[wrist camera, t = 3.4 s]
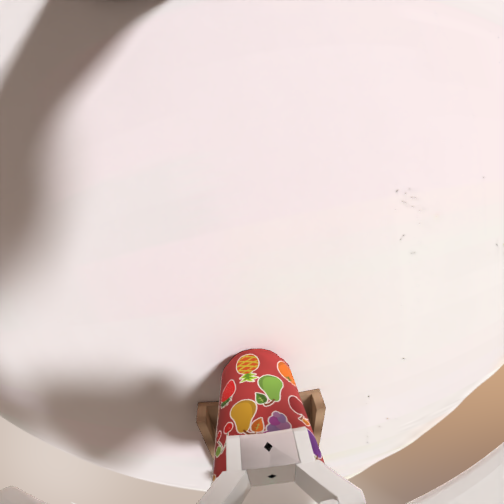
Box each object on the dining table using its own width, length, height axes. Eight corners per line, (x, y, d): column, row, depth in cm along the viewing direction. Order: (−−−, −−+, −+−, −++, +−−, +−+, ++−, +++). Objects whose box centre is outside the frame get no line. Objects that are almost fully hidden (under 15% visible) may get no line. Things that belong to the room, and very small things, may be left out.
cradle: (198, 402, 28) (196, 422, 25) (319, 388, 28) (325, 407, 26) (227, 473, 36) (227, 487, 33) (308, 463, 36) (311, 477, 33)
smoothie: (215, 394, 28) (216, 565, 9) (212, 336, 25) (205, 560, 6) (290, 391, 28) (329, 554, 9) (300, 335, 25) (370, 537, 7)
